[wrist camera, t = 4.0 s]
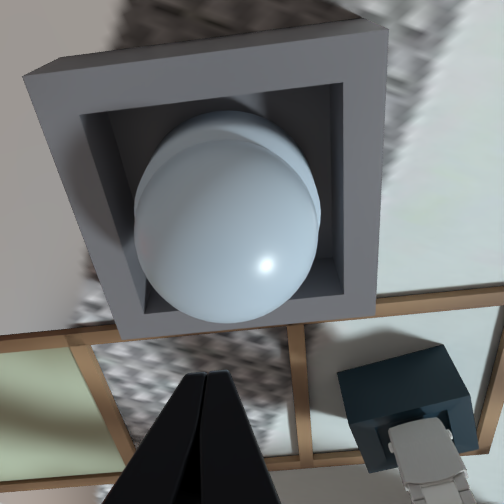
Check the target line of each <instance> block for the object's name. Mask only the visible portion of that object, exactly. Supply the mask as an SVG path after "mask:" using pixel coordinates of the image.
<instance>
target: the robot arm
mask: <svg viewBox="0 0 504 504" xmlns="http://www.w3.org/2000/svg"><path fill="white" fill-rule="evenodd" d="M102 504H281V502H280V499H279V497H278V494H277V492H276V489H275V487H274V484H273V481H272V479H271V476H270V474H269V471H268V469H267V466H266V463H265V461H264V458H263V456H262V453H261V451H260V448H259V445H258V443H257V440H256V438H255V435H254V433H253V430H252V428H251V425H250V422H249V420H248V417H247V415H246V412H245V410H244V407H243V404H242V402H241V399H240V397H239V394H238V392H237V389H236V386H235V384H234V381H233V379H232V376H231V374H230V372H229V371H228V370H218V371H210V372H209V373H208V374H207V373H206V372H196V373H188V374H186V375H185V376H184V377H183V379H182V380H181V382H180V383H179V385H178V386H177V388H176V389H175V391H174V393H173V394H172V396H171V397H170V399H169V400H168V402H167V403H166V405H165V406H164V408H163V410H162V411H161V413H160V414H159V416H158V417H157V419H156V420H155V422H154V424H153V425H152V427H151V428H150V430H149V431H148V433H147V434H146V436H145V437H144V439H143V441H142V442H141V444H140V445H139V447H138V448H137V450H136V451H135V453H134V454H133V456H132V458H131V459H130V461H129V462H128V464H127V465H126V467H125V468H124V470H123V472H122V473H121V475H120V476H119V478H118V479H117V481H116V482H115V484H114V485H113V487H112V489H111V490H110V492H109V493H108V495H107V496H106V498H105V499H104V501H103V503H102Z"/></svg>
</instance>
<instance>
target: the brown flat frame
mask: <svg viewBox="0 0 504 504" xmlns="http://www.w3.org/2000/svg"><path fill="white" fill-rule="evenodd" d="M501 305H504V286H499V287H489V288H479V289H469V290H458V291H448V292H438V293H428V294H418V295H407V296H397V297H387V298H377V299H376V312H375V316H366V317H356V318H345V319H335V320H325V321H314V322H304V323H293V324H283V325H273V326H262V327H252V328H241V329H231V330H221V331H210V332H200V333H189V334H179V335H169V336H158V337H148V338H137V339H127V340H122V339H121V337H120V334H119V331H118V329H117V326H116V324H112V325H102V326H92V327H81V328H71V329H61V330H51V331H41V332H30V333H20V334H10V335H0V493H2V492H15V491H27V490H40V489H53V488H65V487H78V486H91V485H103V484H115V482H116V481H117V479H118V478H119V476H120V475H121V473H122V472H123V470H124V468H125V467H126V465H127V464H128V462H129V461H130V459H131V458H132V456H133V454H134V453H135V451H136V449H135V446H134V444H133V442H132V440H131V437H130V435H129V433H128V430H127V428H126V426H125V423H124V421H123V419H122V417H121V414H120V412H119V410H118V407H117V405H116V403H115V400H114V398H113V396H112V394H111V391H110V389H109V387H108V384H107V382H106V380H105V377H104V375H103V373H102V371H101V368H100V366H99V364H98V361H97V359H96V357H95V354H94V352H93V350H92V347H91V345H95V344H105V343H116V342H126V341H137V340H147V339H157V338H168V337H178V336H189V335H199V334H210V333H220V332H230V331H241V330H251V329H262V328H272V327H282V326H287V335H288V345H289V355H290V365H291V376H292V386H293V396H294V406H295V416H296V427H297V437H298V447H299V455H295V456H283V457H270V458H264V461H265V463H266V466H267V469H268V471H280V470H292V469H305V468H317V467H330V466H342V465H355V464H365V462H364V460H363V458H362V455H361V453H360V450H357V451H344V452H332V453H320V454H313V450H312V436H311V421H310V407H309V392H308V378H307V364H306V349H305V335H304V324H314V323H324V322H335V321H345V320H355V319H366V318H376V317H387V316H397V315H408V314H418V313H428V312H439V311H449V310H460V309H470V308H480V307H491V306H501ZM503 403H504V328H503V332H502V336H501V340H500V343H499V347H498V351H497V355H496V359H495V363H494V367H493V370H492V374H491V378H490V382H489V386H488V390H487V393H486V397H485V401H484V405H483V409H482V413H481V417H480V420H479V424H478V428H477V432H476V433H477V439H478V445H479V449H478V450H474V451H469V452H465V453H460V454H459V455H460V456H468V455H481V454H489V451H490V447H491V444H492V441H493V437H494V434H495V430H496V427H497V424H498V420H499V417H500V414H501V410H502V407H503Z"/></svg>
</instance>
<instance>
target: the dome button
mask: <svg viewBox="0 0 504 504" xmlns="http://www.w3.org/2000/svg"><path fill="white" fill-rule="evenodd" d="M134 216H135V223H134V239H135V247H136V251H137V255H138V259H139V262H140V265H141V267H142V270H143V272H144V273H145V275H146V277H147V279H148V280H149V282H150V284H151V285H152V286H153V288H154V289H155V290H156V291H157V292H158V294H159V295H160V296H161V297H162V298H163V299H165V300H166V301H167V302H168V303H169V304H171V305H172V306H173V307H175V308H176V309H178V310H179V311H181V312H183V313H185V314H187V315H189V316H192V317H194V318H197V319H200V320H204V321H208V322H214V323H238V322H245V321H249V320H253V319H256V318H259V317H262V316H264V315H266V314H268V313H270V312H272V311H273V310H275V309H277V308H278V307H280V306H281V305H282V304H283V303H285V302H286V301H287V300H288V299H290V298H291V296H292V295H293V294H294V293H295V292H296V291H297V290H298V288H299V287H300V286H301V284H302V283H303V281H304V280H305V279H306V277H307V275H308V273H309V271H310V269H311V266H312V263H313V260H314V258H315V255H316V249H317V243H318V232H319V226H320V217H321V209H320V200H319V196H318V193H317V189H316V186H315V183H314V180H313V177H312V173H311V170H310V167H309V164H308V162H307V160H306V157H305V155H304V153H303V152H302V150H301V149H300V147H299V145H298V144H297V143H296V142H295V141H294V139H293V138H292V137H291V136H290V135H289V134H288V133H287V132H285V131H284V130H283V129H282V128H280V127H279V126H277V125H276V124H275V123H273V122H271V121H269V120H267V119H265V118H263V117H260V116H257V115H254V114H251V113H246V112H241V111H230V110H227V111H214V112H209V113H204V114H201V115H198V116H195V117H193V118H191V119H189V120H187V121H185V122H183V123H181V124H180V125H178V126H177V127H175V128H174V129H173V130H172V131H171V132H170V133H169V134H167V135H166V136H165V138H164V139H163V140H162V141H161V142H160V144H159V145H158V147H157V148H156V150H155V152H154V153H153V155H152V157H151V159H150V162H149V164H148V166H147V168H146V170H145V172H144V174H143V176H142V178H141V181H140V183H139V186H138V188H137V192H136V196H135V204H134Z"/></svg>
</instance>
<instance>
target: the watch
mask: <svg viewBox="0 0 504 504" xmlns="http://www.w3.org/2000/svg"><path fill="white" fill-rule="evenodd" d="M337 376H338V380H339V384H340V389H341V393H342V397H343V402H344V406H345V411H346V415H347V419H348V424H349V426H350V429H351V431H352V434H353V436H354V438H355V441H356V443H357V446H358V448H359V450H360V453H361V455H362V458H363V460H364V462H365V465H366V467H367V469H368V472H369V473H374V472H378V471H383V470H387V469H392V468H396V467H398V468H399V471H400V475H401V478H402V481H403V484H404V487H405V490H406V491H409V495H410V497H411V501H412V504H477V503H476V501H475V498H474V496H473V494H472V492H471V490H470V487H469V485H468V482H467V480H466V478H468V474H467V469H466V467H465V465H464V463H463V461H462V459H461V457H460V455H459V454H460V453H465V452H469V451H474V450H478V449H479V445H478V439H477V433H476V427H475V421H474V415H473V409H472V403H471V397H470V394H469V392H468V390H467V388H466V386H465V384H464V383H463V381H462V379H461V377H460V375H459V373H458V371H457V369H456V367H455V365H454V364H453V362H452V360H451V358H450V356H449V354H448V352H447V350H446V348H445V346H444V345H440V346H436V347H433V348H429V349H425V350H421V351H418V352H414V353H410V354H406V355H402V356H399V357H395V358H391V359H387V360H384V361H380V362H376V363H372V364H369V365H365V366H361V367H357V368H353V369H350V370H346V371H342V372H338V373H337Z"/></svg>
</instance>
